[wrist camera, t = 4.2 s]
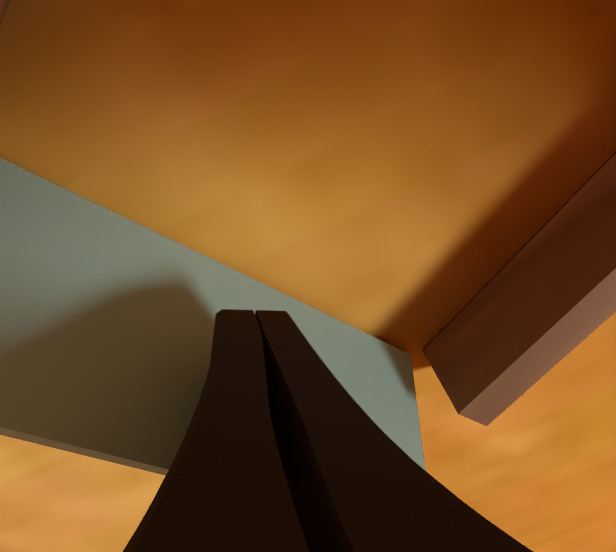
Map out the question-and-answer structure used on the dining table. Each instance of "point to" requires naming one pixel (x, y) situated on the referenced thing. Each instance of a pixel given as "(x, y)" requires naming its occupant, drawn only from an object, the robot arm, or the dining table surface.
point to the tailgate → (141, 332)
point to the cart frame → (531, 305)
